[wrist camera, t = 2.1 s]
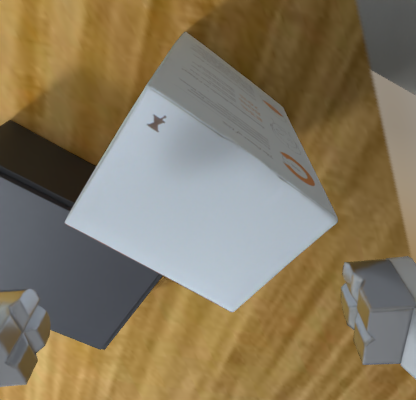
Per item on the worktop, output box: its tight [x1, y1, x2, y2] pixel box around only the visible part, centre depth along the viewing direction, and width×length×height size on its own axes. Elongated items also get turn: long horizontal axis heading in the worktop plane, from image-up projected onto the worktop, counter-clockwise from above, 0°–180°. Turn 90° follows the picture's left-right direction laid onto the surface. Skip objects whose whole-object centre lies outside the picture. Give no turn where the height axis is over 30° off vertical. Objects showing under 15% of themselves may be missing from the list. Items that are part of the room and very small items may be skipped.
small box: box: [65, 32, 338, 312], centre depth 18 cm, size 8×6×13 cm
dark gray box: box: [0, 120, 163, 350], centre depth 27 cm, size 14×12×5 cm
